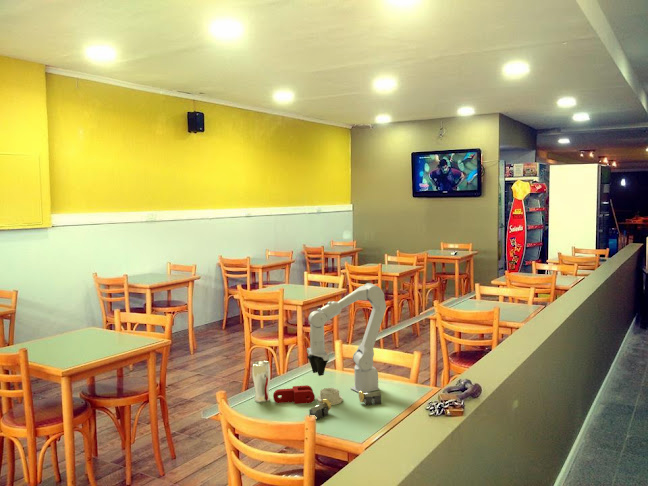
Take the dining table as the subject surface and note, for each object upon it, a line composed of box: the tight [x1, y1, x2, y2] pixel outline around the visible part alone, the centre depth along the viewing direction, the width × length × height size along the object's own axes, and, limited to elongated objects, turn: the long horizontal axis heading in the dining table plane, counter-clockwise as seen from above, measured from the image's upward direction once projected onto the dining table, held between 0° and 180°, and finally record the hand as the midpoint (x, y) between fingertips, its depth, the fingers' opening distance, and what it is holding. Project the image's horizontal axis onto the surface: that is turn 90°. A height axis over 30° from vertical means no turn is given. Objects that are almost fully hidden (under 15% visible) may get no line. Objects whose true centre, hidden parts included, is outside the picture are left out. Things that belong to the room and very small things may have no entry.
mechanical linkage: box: [272, 384, 316, 405], centre depth 231 cm, size 16×7×5 cm, turn 98°
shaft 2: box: [358, 391, 382, 406], centre depth 227 cm, size 8×4×5 cm, turn 101°
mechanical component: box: [316, 387, 344, 406], centre depth 231 cm, size 10×4×10 cm
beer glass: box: [252, 360, 271, 403], centre depth 233 cm, size 7×7×15 cm
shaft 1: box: [308, 399, 332, 421], centre depth 215 cm, size 8×4×5 cm, turn 141°
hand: (318, 373), depth 238 cm, fingers open, 4 cm apart
